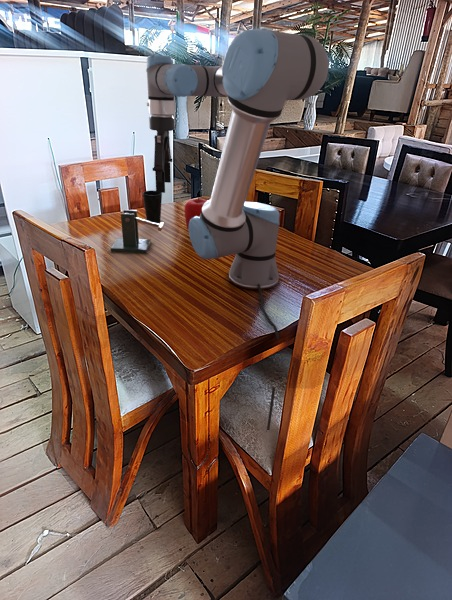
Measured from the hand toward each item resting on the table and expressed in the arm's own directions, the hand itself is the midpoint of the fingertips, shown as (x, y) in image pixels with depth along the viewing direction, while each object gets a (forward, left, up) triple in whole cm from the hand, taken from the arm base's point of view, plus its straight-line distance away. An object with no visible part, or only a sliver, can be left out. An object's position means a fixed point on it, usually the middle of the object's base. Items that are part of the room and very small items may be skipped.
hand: (163, 187), depth 130 cm
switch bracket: (0, +12, -22) cm, 25 cm away
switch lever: (0, +7, -13) cm, 15 cm away
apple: (+19, -10, -22) cm, 31 cm away
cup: (+29, +9, -22) cm, 37 cm away
